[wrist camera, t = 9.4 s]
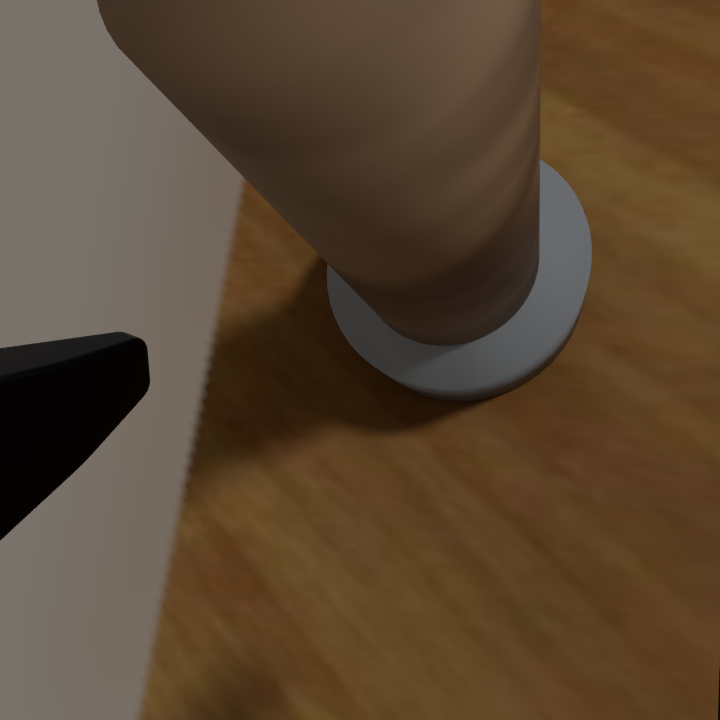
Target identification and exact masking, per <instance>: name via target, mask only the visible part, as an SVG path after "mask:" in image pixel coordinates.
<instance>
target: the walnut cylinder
mask: <svg viewBox="0 0 720 720" xmlns="http://www.w3.org/2000/svg"><path fill="white" fill-rule="evenodd" d="M97 2H98V7H99V11H100V14H101V16H102V19H103V21H104V24H105V26H106V29H107V31H108V32H109V34H110V35H111V37H112V39H113V40H114V42H115V43H116V45H117V46H118V48H119V49H121V51H122V52H123V53H124V54H125V55H126V56H127V57H128V58H129V59H130V60H131V61H132V62H133V63H134V64H135V65H136V66H137V67H138V68H139V69H140V70H141V71H142V72H143V74H144V75H145V76H146V77H147V78H148V79H149V80H150V81H151V82H152V83H153V84H154V85H155V86H156V87H157V88H158V89H159V90H160V91H161V92H162V93H163V94H164V95H165V96H166V97H167V98H168V99H169V100H170V101H171V102H172V103H173V104H174V105H175V107H177V109H178V110H179V111H180V112H181V113H182V114H183V115H184V116H185V117H186V118H187V119H188V120H189V121H190V122H191V123H192V124H193V125H194V126H195V127H196V128H197V129H198V130H199V131H200V132H201V133H202V134H203V135H204V136H205V138H207V139H208V141H209V142H210V143H211V144H212V145H213V146H214V147H215V148H216V149H217V150H218V151H219V152H220V153H221V154H222V155H223V156H224V157H225V158H226V159H227V160H228V161H229V162H230V163H231V164H232V165H233V166H234V167H235V168H236V170H237V171H238V172H239V173H240V174H241V175H242V176H243V177H244V178H245V179H246V180H247V181H248V182H249V183H250V184H251V185H252V186H253V187H254V188H255V189H256V190H257V191H258V192H259V193H260V194H261V195H262V196H263V197H264V198H265V199H266V200H267V202H268V203H269V204H270V205H271V206H272V207H273V208H274V209H275V210H276V211H277V212H278V213H279V214H280V215H281V216H282V217H283V218H284V219H285V220H286V221H287V222H288V223H289V224H290V225H291V226H292V227H293V228H294V229H295V230H296V231H297V232H298V234H299V235H300V236H301V237H302V238H303V239H304V240H305V241H306V242H307V243H308V244H309V245H310V246H311V247H312V248H313V249H314V250H315V251H316V252H317V253H318V254H319V255H320V256H321V257H322V258H323V259H324V260H325V261H326V262H327V263H328V264H329V266H330V267H331V268H332V269H333V270H334V271H335V272H336V273H337V274H338V275H339V276H340V277H341V278H342V279H343V280H344V281H345V282H346V283H347V284H348V285H349V286H350V287H351V288H352V289H353V290H354V291H355V292H356V293H357V294H358V295H359V296H360V298H361V299H362V300H363V301H364V302H365V303H366V304H367V305H368V306H369V307H370V308H371V309H372V310H373V311H374V312H375V313H376V314H377V315H378V316H379V317H380V318H381V319H382V320H383V321H384V322H385V323H386V324H387V325H388V326H389V327H390V328H391V329H393V330H394V331H395V332H397V333H398V334H400V335H402V336H404V337H405V338H408V339H410V340H413V341H415V342H419V343H423V344H427V345H435V346H452V345H459V344H464V343H468V342H472V341H475V340H478V339H480V338H482V337H485V336H487V335H489V334H490V333H492V332H494V331H496V330H497V329H499V328H500V327H501V326H503V325H504V324H505V323H507V322H508V321H509V320H510V319H511V318H512V317H513V316H514V315H515V314H516V313H517V312H518V310H519V309H520V308H521V307H522V306H523V304H524V303H525V301H526V299H527V298H528V296H529V295H530V292H531V290H532V288H533V286H534V283H535V280H536V277H537V273H538V267H539V237H540V66H541V0H97Z"/></svg>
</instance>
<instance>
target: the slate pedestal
mask: <svg viewBox="0 0 720 720" xmlns="http://www.w3.org/2000/svg"><path fill="white" fill-rule="evenodd" d="M591 262H592V243H591V236H590V230H589V225H588V222H587V219H586V216H585V213H584V210H583V208H582V206H581V204H580V202H579V200H578V198H577V196H576V194H575V193H574V192H573V190H572V189H571V187H570V186H569V185H568V183H567V182H566V181H565V180H564V179H563V178H562V177H561V176H560V175H559V174H558V173H557V172H556V171H555V170H554V169H553V168H552V167H550V166H549V165H548V164H546V163H545V162H544V161H542V160H541V159H540V237H539V267H538V273H537V277H536V280H535V283H534V286H533V288H532V290H531V292H530V295H529V296H528V298H527V299H526V301H525V303H524V304H523V306H522V307H521V308H520V309H519V310H518V312H517V313H516V314H515V315H514V316H513V317H512V318H511V319H510V320H509V321H508V322H507V323H505V324H504V325H503V326H501V327H500V328H499V329H497V330H496V331H494V332H492V333H490V334H489V335H487V336H485V337H482V338H480V339H478V340H475V341H472V342H468V343H464V344H459V345H452V346H435V345H427V344H423V343H419V342H415V341H413V340H410V339H408V338H405V337H404V336H402V335H400V334H398V333H397V332H395V331H394V330H393V329H391V328H390V327H389V326H388V325H387V324H386V323H385V322H384V321H383V320H382V319H381V318H380V317H379V316H378V315H377V314H376V313H375V312H374V311H373V310H372V309H371V308H370V307H369V306H368V305H367V304H366V303H365V302H364V301H363V300H362V299H361V298H360V296H359V295H358V294H357V293H356V292H355V291H354V290H353V289H352V288H351V287H350V286H349V285H348V284H347V283H346V282H345V281H344V280H343V279H342V278H341V277H340V276H339V275H338V274H337V273H336V272H335V271H334V270H333V269H332V268H331V267H330V266H329V264H328V265H327V289H328V295H329V300H330V305H331V308H332V311H333V314H334V317H335V319H336V321H337V323H338V325H339V328H340V330H341V332H342V333H343V334H344V336H345V337H346V339H347V340H348V342H349V343H350V345H351V346H352V347H353V348H354V349H355V350H356V351H357V352H358V353H359V355H360V356H362V357H363V358H364V359H365V360H366V361H368V362H369V363H370V364H371V365H372V366H374V367H375V368H377V369H378V370H380V371H381V372H382V373H384V374H385V375H387V376H388V377H390V378H391V379H393V380H394V381H395V382H397V383H399V384H400V385H402V386H404V387H405V388H407V389H409V390H411V391H414V392H416V393H418V394H420V395H424V396H427V397H431V398H434V399H440V400H446V401H474V400H482V399H487V398H491V397H495V396H498V395H501V394H504V393H506V392H509V391H512V390H514V389H516V388H518V387H520V386H521V385H523V384H525V383H527V382H528V381H530V380H531V379H533V378H534V377H536V376H537V375H538V374H540V373H541V372H542V371H543V370H544V369H545V368H546V367H548V366H549V365H550V364H551V363H552V362H553V361H554V359H555V358H556V357H557V356H558V355H559V353H560V352H561V351H562V350H563V348H564V347H565V345H566V344H567V342H568V340H569V339H570V337H571V336H572V333H573V331H574V329H575V327H576V324H577V322H578V319H579V316H580V312H581V308H582V305H583V301H584V297H585V293H586V289H587V285H588V281H589V277H590V269H591Z"/></svg>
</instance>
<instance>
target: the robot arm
mask: <svg viewBox="0 0 720 720" xmlns="http://www.w3.org/2000/svg"><path fill="white" fill-rule="evenodd" d="M149 376H150V375H149V363H148V351H147V346H146V344H145V342H144V341H143V340H142V339H140V338H138V337H135V336H133V335H130V334H128V333H125V332H113V333H106V334H99V335H92V336H85V337H78V338H71V339H63V340H56V341H49V342H42V343H35V344H27V345H20V346H13V347H6V348H0V540H1V539H2V538H4V537H5V536H6V535H7V534H8V533H9V532H10V531H11V530H12V529H13V528H14V527H15V526H16V525H17V524H19V523H20V522H21V521H22V520H23V519H24V518H25V517H26V516H27V515H28V514H29V513H31V511H33V509H35V508H36V507H37V506H38V505H39V504H40V503H41V502H42V501H43V500H45V499H46V498H47V497H48V496H49V495H50V494H51V493H52V492H53V491H54V490H55V489H56V488H57V487H59V486H60V485H61V484H62V483H63V482H64V481H65V480H66V479H67V478H68V477H69V476H71V475H72V474H73V473H74V472H75V471H76V470H77V469H78V468H79V467H80V466H81V465H82V464H83V463H84V462H85V461H86V460H87V459H88V458H89V457H90V456H91V455H92V454H93V452H94V451H95V450H96V449H97V448H98V447H99V446H100V445H101V444H102V442H103V441H104V440H105V439H106V438H107V437H108V436H109V435H110V433H111V432H112V431H113V430H114V429H115V428H116V427H117V426H118V425H119V423H120V422H121V421H122V420H123V419H124V418H125V417H126V416H127V414H128V413H129V412H130V411H131V410H132V409H133V408H134V407H135V406H136V404H137V403H138V402H139V401H140V400H141V399H142V398H143V397H144V395H145V394H146V392H147V391H148V388H149V384H150V377H149ZM718 720H720V671H719V702H718Z"/></svg>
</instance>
